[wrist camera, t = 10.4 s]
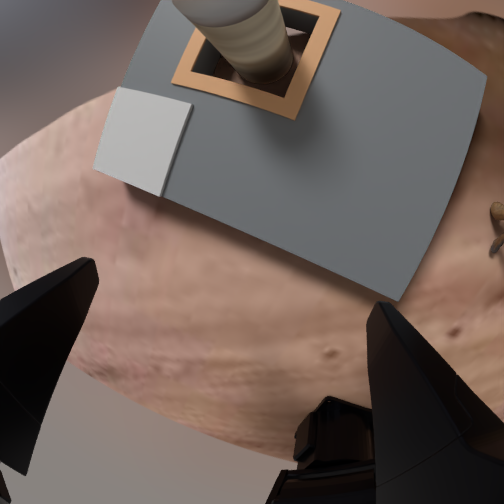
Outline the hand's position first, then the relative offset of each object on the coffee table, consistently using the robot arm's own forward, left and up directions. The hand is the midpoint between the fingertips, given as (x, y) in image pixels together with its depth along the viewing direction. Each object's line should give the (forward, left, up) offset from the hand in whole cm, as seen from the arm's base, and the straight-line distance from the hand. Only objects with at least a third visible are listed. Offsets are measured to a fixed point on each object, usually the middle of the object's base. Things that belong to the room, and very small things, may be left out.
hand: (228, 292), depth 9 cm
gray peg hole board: (+2, -7, -12) cm, 14 cm away
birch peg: (+5, -10, -12) cm, 17 cm away
